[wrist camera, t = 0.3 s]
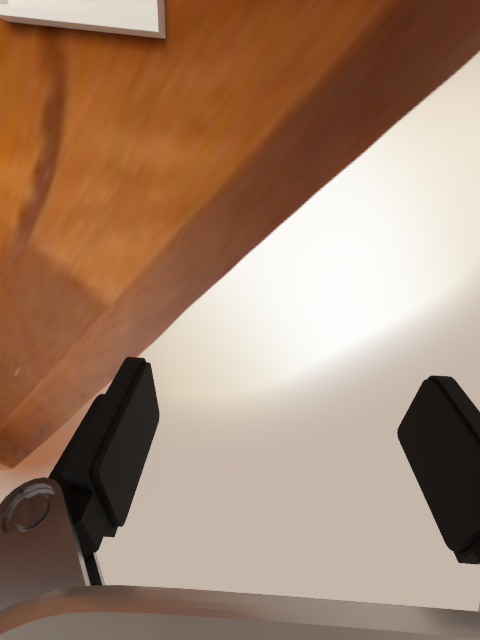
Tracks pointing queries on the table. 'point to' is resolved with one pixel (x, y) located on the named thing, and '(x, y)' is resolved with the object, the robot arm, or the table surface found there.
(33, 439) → the table surface
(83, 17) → the white tray
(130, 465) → the robot arm
